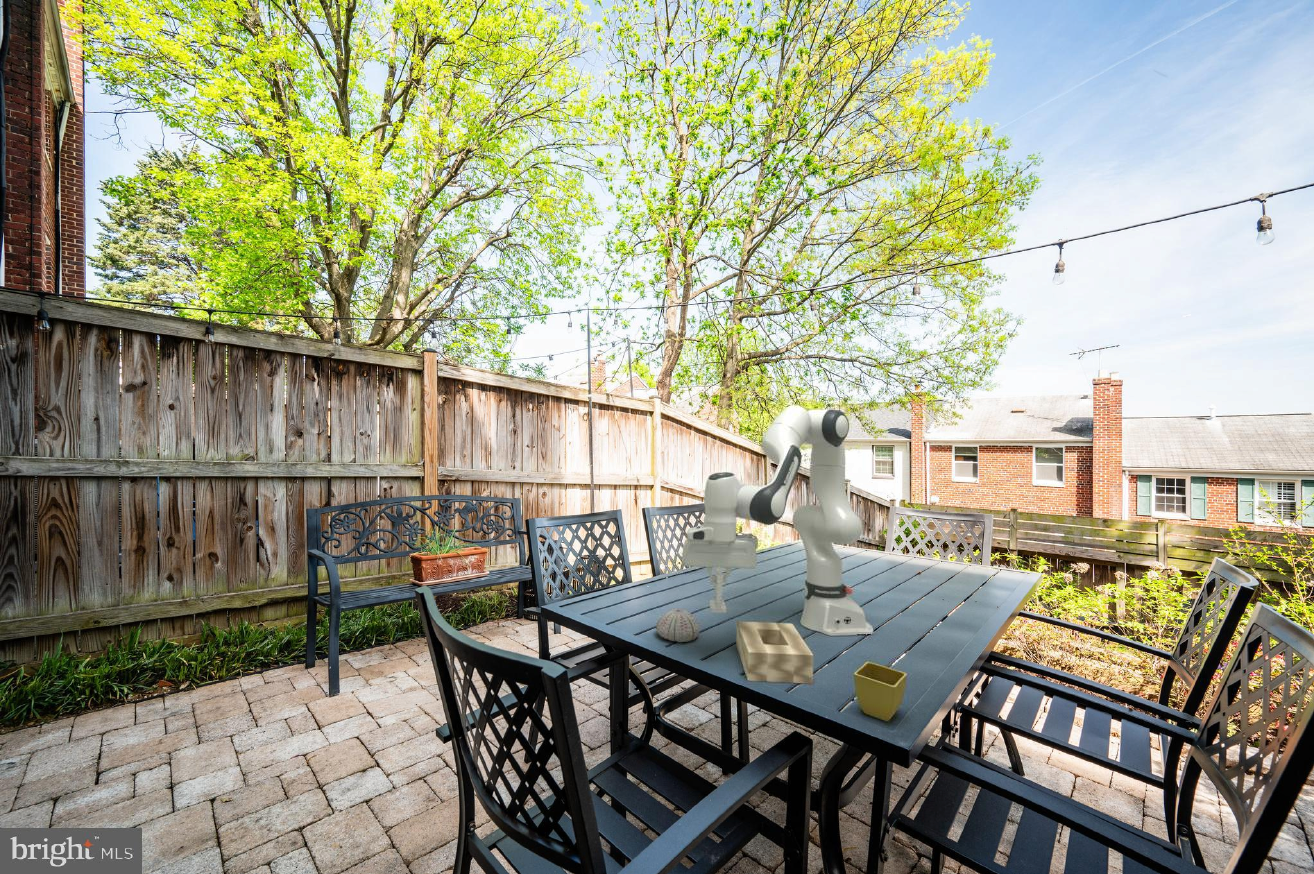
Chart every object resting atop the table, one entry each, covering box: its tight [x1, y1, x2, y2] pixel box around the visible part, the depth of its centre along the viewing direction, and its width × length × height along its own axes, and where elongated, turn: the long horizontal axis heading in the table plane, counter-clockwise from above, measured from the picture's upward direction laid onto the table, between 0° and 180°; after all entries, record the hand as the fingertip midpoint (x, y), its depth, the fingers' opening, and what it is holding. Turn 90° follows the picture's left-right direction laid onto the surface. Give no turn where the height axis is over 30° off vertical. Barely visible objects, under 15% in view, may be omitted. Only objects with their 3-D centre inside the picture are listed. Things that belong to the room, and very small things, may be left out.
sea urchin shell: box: [655, 608, 701, 643], centre depth 153 cm, size 13×14×8 cm
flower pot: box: [853, 661, 908, 722], centre depth 111 cm, size 9×9×9 cm
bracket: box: [708, 567, 727, 614], centre depth 137 cm, size 4×7×10 cm, turn 178°
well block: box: [735, 620, 814, 685], centre depth 136 cm, size 16×22×7 cm
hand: (718, 583), depth 137 cm, fingers closed on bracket
